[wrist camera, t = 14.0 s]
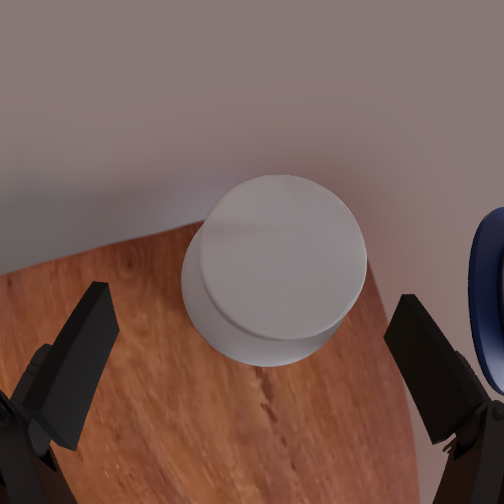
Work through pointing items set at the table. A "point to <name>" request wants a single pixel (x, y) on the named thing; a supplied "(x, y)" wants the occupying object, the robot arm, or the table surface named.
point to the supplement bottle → (273, 270)
